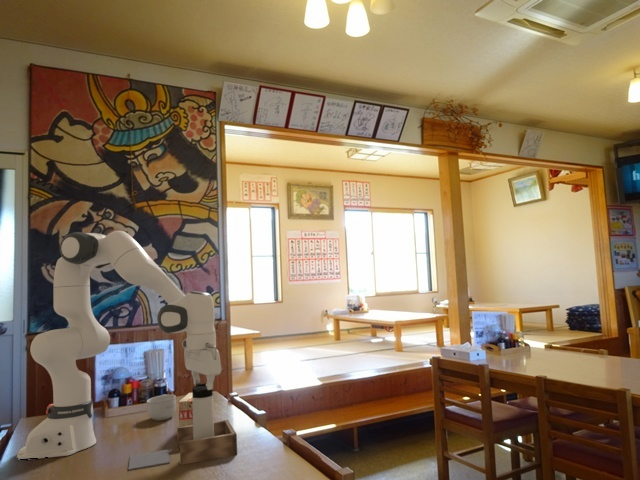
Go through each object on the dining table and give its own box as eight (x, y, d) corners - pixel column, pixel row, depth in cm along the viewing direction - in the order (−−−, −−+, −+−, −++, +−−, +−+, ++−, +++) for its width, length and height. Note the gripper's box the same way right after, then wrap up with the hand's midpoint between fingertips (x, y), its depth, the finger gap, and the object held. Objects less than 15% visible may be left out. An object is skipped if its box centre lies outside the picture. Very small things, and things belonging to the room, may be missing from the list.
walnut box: (180, 464, 131) (180, 443, 132) (177, 446, 146) (177, 427, 147) (237, 454, 137) (236, 433, 137) (228, 438, 152) (227, 419, 153)
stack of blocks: (196, 419, 177) (195, 386, 178) (212, 418, 177) (212, 385, 178) (179, 438, 155) (178, 400, 156) (197, 437, 155) (196, 400, 156)
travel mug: (218, 447, 143) (217, 382, 145) (207, 455, 137) (205, 387, 139) (201, 446, 145) (200, 382, 147) (189, 454, 139) (187, 386, 141)
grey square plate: (128, 470, 129) (128, 469, 129) (130, 457, 139) (130, 456, 139) (169, 463, 133) (169, 461, 133) (168, 450, 143) (168, 449, 143)
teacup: (170, 421, 174) (170, 400, 175) (142, 423, 174) (142, 401, 175) (182, 411, 188) (181, 391, 189) (156, 412, 188) (155, 393, 189)
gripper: (225, 343, 138) (227, 390, 137) (198, 339, 154) (200, 381, 153) (205, 345, 134) (207, 394, 133) (180, 341, 150) (181, 384, 149)
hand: (203, 387), depth 143 cm, fingers open, 8 cm apart
